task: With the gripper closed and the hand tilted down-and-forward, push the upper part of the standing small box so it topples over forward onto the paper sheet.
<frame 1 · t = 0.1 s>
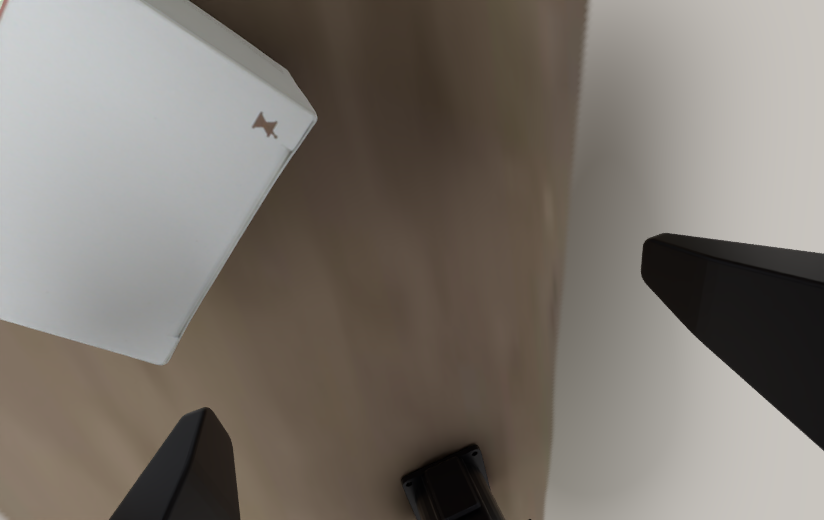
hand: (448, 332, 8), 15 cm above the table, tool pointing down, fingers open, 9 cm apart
small box: (182, 113, 18), on the table
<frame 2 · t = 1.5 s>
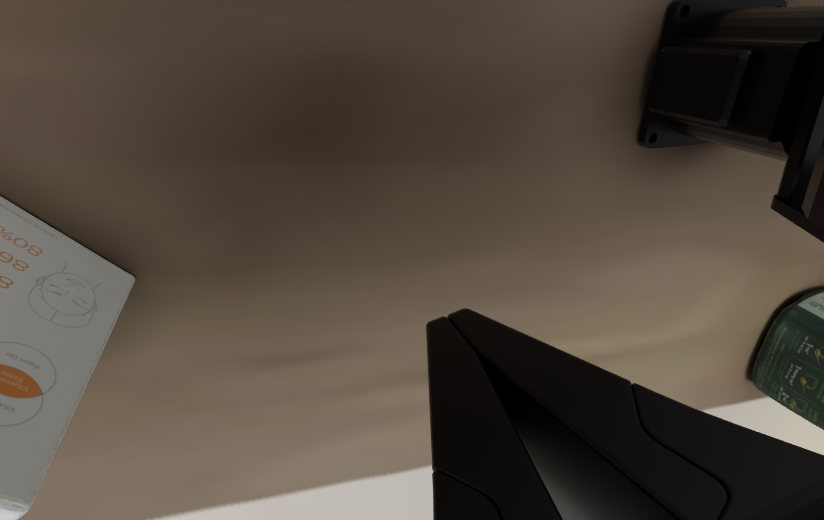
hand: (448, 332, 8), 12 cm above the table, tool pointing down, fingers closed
coffee jar: (788, 333, 36), on the table
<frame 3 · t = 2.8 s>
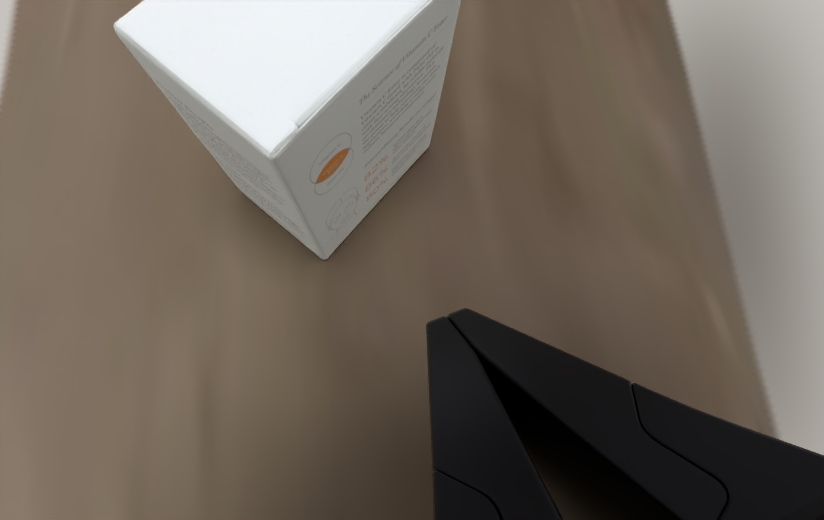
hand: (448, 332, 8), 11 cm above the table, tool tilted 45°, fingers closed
small box: (337, 171, 22), on the table
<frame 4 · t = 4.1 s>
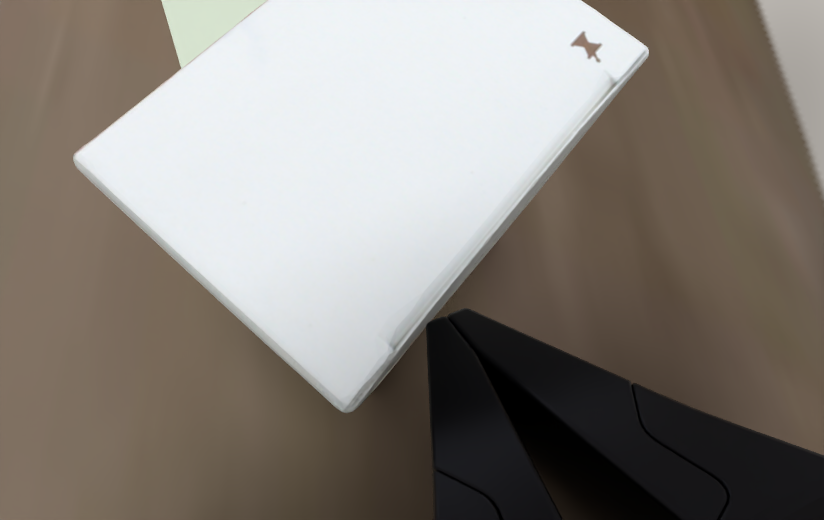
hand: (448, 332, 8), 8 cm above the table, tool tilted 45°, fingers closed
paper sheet: (301, 52, 19), on the table
small box: (382, 268, 17), on the table, touching gripper
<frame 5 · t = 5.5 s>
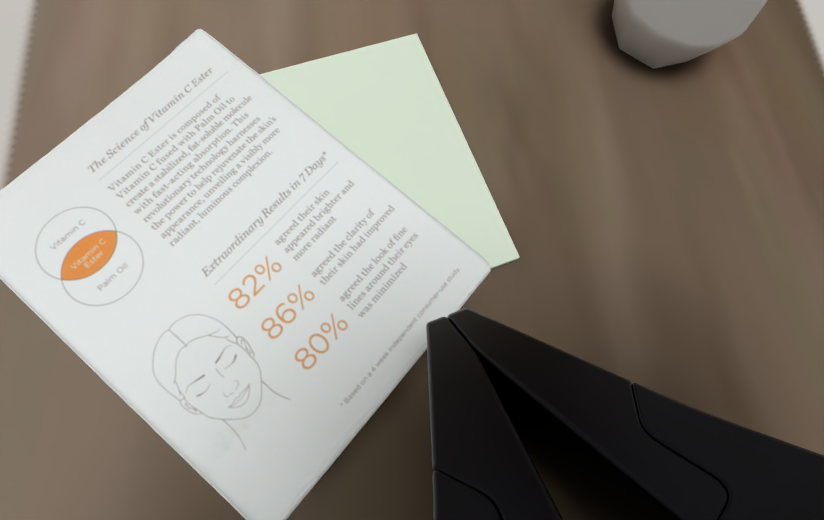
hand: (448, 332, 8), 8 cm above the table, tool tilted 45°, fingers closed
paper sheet: (349, 176, 18), on the table
small box: (395, 395, 12), point 3 cm above the table, touching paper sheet
salt shaker: (651, 35, 21), on the table
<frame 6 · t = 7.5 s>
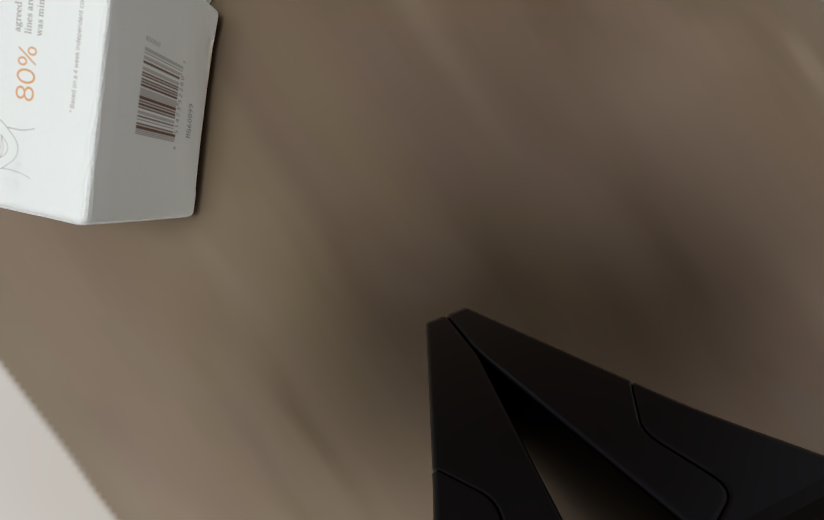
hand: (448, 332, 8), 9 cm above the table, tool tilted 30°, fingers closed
small box: (170, 106, 14), point 3 cm above the table, touching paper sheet
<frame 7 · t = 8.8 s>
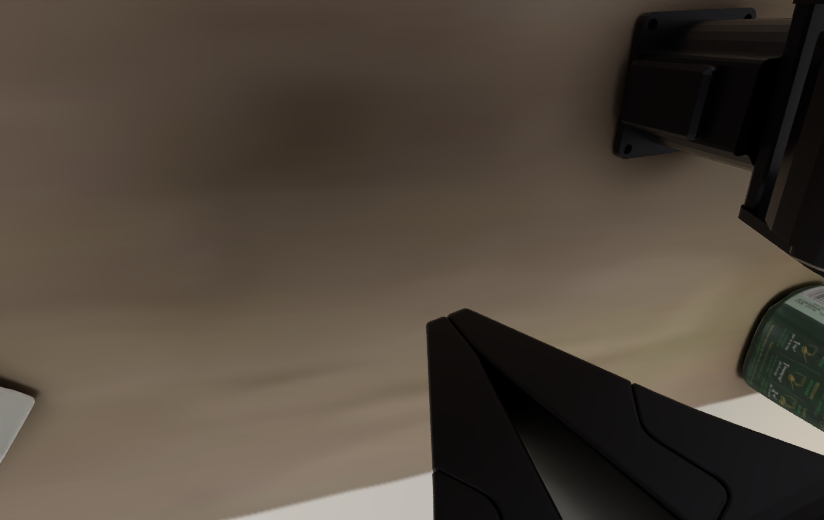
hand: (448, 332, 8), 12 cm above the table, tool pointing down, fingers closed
coffee jar: (778, 329, 36), on the table
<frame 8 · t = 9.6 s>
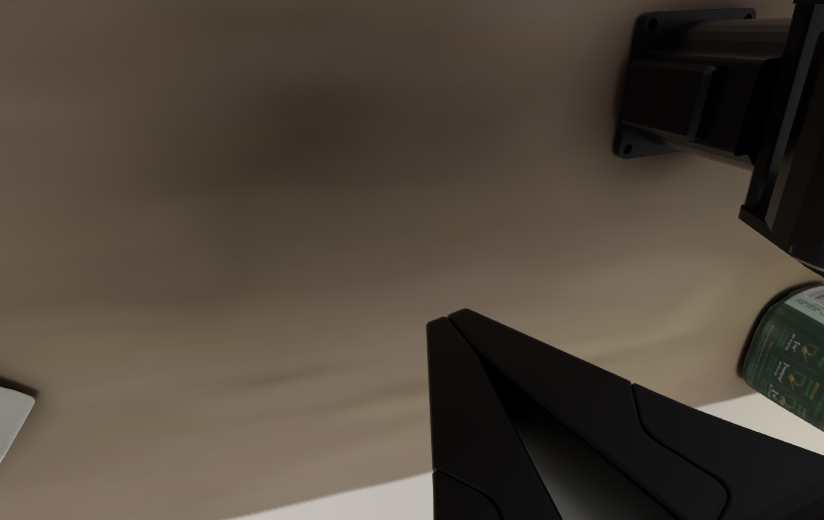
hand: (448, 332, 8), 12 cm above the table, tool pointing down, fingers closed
coffee jar: (778, 329, 36), on the table
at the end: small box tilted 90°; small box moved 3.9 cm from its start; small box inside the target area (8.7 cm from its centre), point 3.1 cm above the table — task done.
